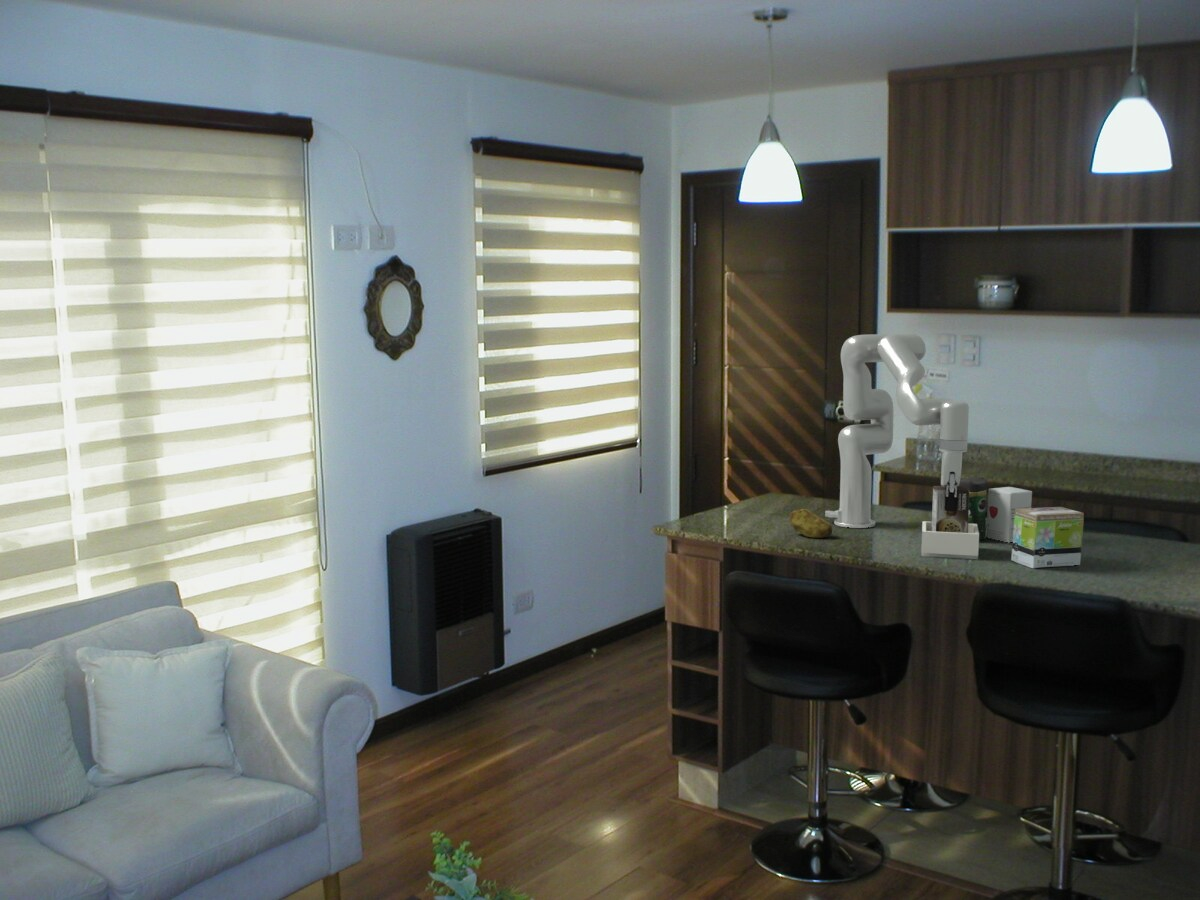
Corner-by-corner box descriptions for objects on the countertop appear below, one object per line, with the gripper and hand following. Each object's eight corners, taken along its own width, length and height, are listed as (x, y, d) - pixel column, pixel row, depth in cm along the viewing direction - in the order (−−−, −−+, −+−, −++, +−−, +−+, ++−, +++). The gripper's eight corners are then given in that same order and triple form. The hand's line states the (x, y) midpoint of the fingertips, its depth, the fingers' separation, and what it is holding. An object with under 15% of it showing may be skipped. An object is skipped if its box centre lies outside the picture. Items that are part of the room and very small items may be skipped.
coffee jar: (964, 534, 353) (967, 474, 351) (989, 538, 348) (992, 477, 345) (948, 539, 346) (951, 477, 344) (973, 543, 341) (976, 480, 338)
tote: (921, 556, 325) (922, 531, 324) (921, 545, 339) (922, 521, 338) (978, 559, 321) (979, 534, 320) (975, 547, 335) (976, 523, 334)
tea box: (1033, 569, 309) (1036, 514, 307) (1010, 561, 319) (1013, 507, 317) (1082, 565, 314) (1085, 511, 312) (1057, 557, 323) (1060, 505, 321)
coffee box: (963, 541, 333) (965, 485, 330) (967, 546, 326) (970, 489, 324) (930, 540, 334) (932, 485, 331) (934, 545, 327) (936, 489, 325)
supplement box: (984, 537, 349) (987, 488, 347) (1006, 535, 353) (1009, 486, 351) (1008, 543, 341) (1010, 493, 339) (1030, 540, 345) (1033, 490, 343)
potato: (816, 541, 344) (817, 514, 343) (784, 534, 354) (784, 508, 353) (835, 537, 349) (836, 511, 348) (802, 531, 359) (803, 505, 358)
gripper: (938, 441, 335) (936, 502, 338) (939, 449, 319) (936, 513, 321) (966, 442, 333) (963, 503, 336) (968, 450, 317) (965, 514, 319)
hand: (950, 507), depth 328 cm, fingers closed on coffee box, 7 cm apart
